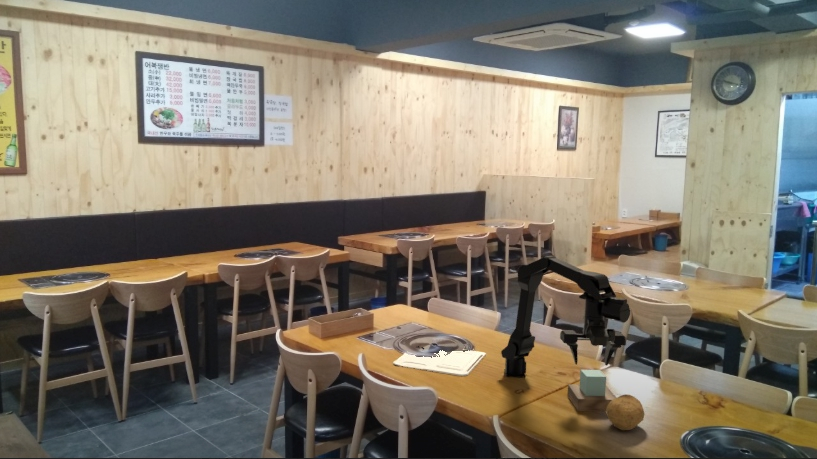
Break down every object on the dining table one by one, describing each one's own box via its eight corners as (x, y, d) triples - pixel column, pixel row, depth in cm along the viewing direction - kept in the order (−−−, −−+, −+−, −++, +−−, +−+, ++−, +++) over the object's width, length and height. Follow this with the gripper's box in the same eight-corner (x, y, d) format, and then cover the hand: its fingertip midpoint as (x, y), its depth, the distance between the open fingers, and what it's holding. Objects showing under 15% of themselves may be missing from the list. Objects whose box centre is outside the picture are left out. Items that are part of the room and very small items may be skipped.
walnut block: (577, 411, 177) (578, 398, 177) (567, 396, 189) (568, 384, 189) (617, 413, 177) (618, 400, 177) (605, 397, 189) (606, 385, 189)
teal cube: (585, 395, 180) (586, 376, 179) (579, 388, 186) (580, 369, 185) (605, 396, 180) (606, 376, 179) (598, 388, 186) (599, 369, 185)
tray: (391, 366, 214) (391, 362, 214) (419, 345, 240) (419, 342, 240) (466, 378, 204) (466, 374, 204) (486, 355, 230) (487, 351, 229)
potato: (598, 431, 163) (599, 403, 162) (613, 414, 175) (614, 388, 174) (634, 441, 158) (636, 412, 157) (648, 423, 169) (649, 396, 168)
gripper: (570, 321, 173) (567, 372, 175) (634, 323, 173) (630, 375, 175) (561, 311, 185) (558, 360, 186) (621, 313, 184) (618, 362, 186)
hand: (591, 364), depth 183 cm, fingers open, 9 cm apart
